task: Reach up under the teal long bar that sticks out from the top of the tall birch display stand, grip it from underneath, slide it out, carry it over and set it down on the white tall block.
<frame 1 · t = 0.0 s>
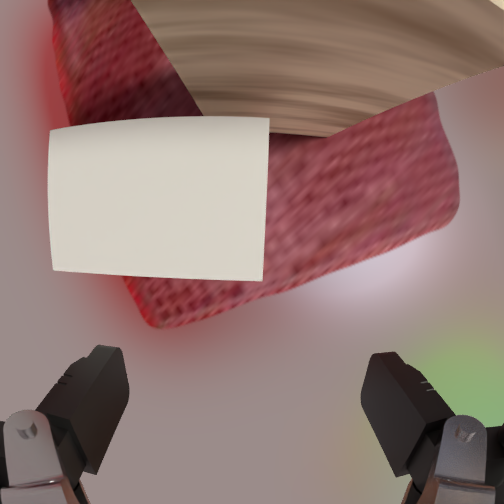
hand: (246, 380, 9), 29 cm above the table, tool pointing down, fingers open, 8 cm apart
display stand: (272, 94, 34), on the table
white tall block: (201, 187, 36), on the table
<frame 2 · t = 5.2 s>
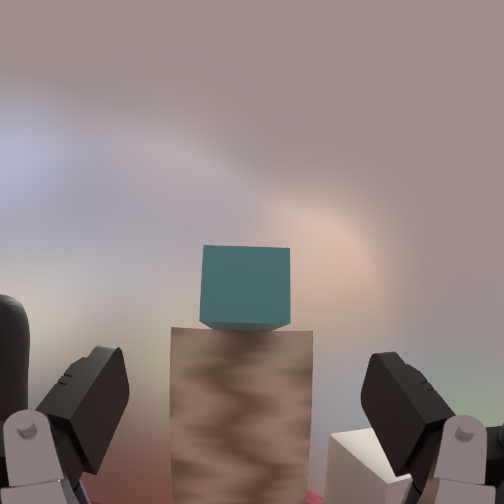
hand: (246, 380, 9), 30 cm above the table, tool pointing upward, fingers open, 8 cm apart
teal long bar: (241, 332, 24), point 32 cm above the table, touching display stand
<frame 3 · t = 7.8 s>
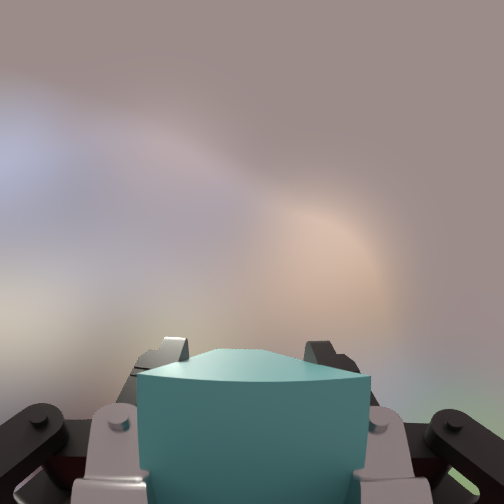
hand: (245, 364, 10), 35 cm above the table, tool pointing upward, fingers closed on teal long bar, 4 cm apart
teal long bar: (242, 418, 14), point 32 cm above the table, touching display stand, gripper
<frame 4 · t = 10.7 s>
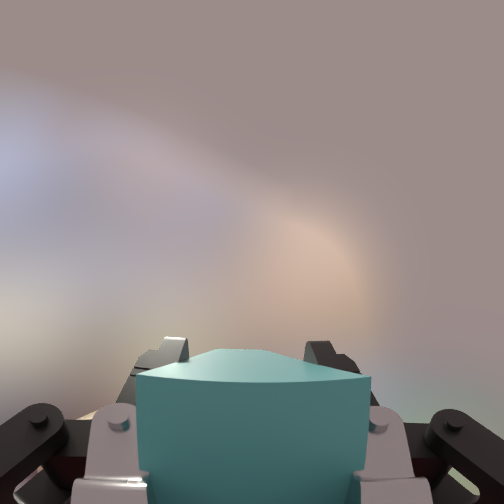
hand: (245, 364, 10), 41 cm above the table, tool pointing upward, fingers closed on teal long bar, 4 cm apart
teal long bar: (241, 418, 14), point 38 cm above the table, touching gripper
when the fingers open (27 cm above the table, at t = 13.9 s): teal long bar stays where it is, resting on white tall block.
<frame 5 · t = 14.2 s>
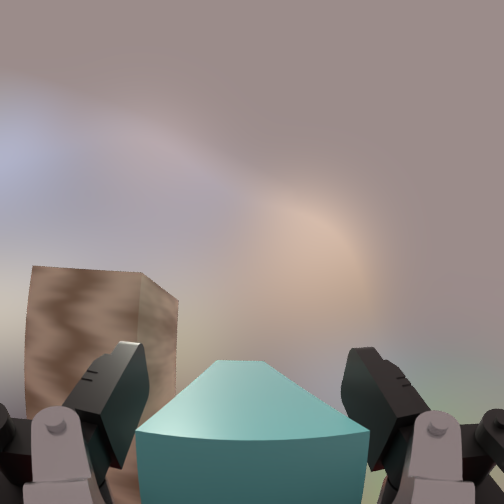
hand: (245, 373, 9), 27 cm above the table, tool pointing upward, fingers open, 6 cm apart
teal long bar: (241, 436, 14), point 22 cm above the table, touching white tall block
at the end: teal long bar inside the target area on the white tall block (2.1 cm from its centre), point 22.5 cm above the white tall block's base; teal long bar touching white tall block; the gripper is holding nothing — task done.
